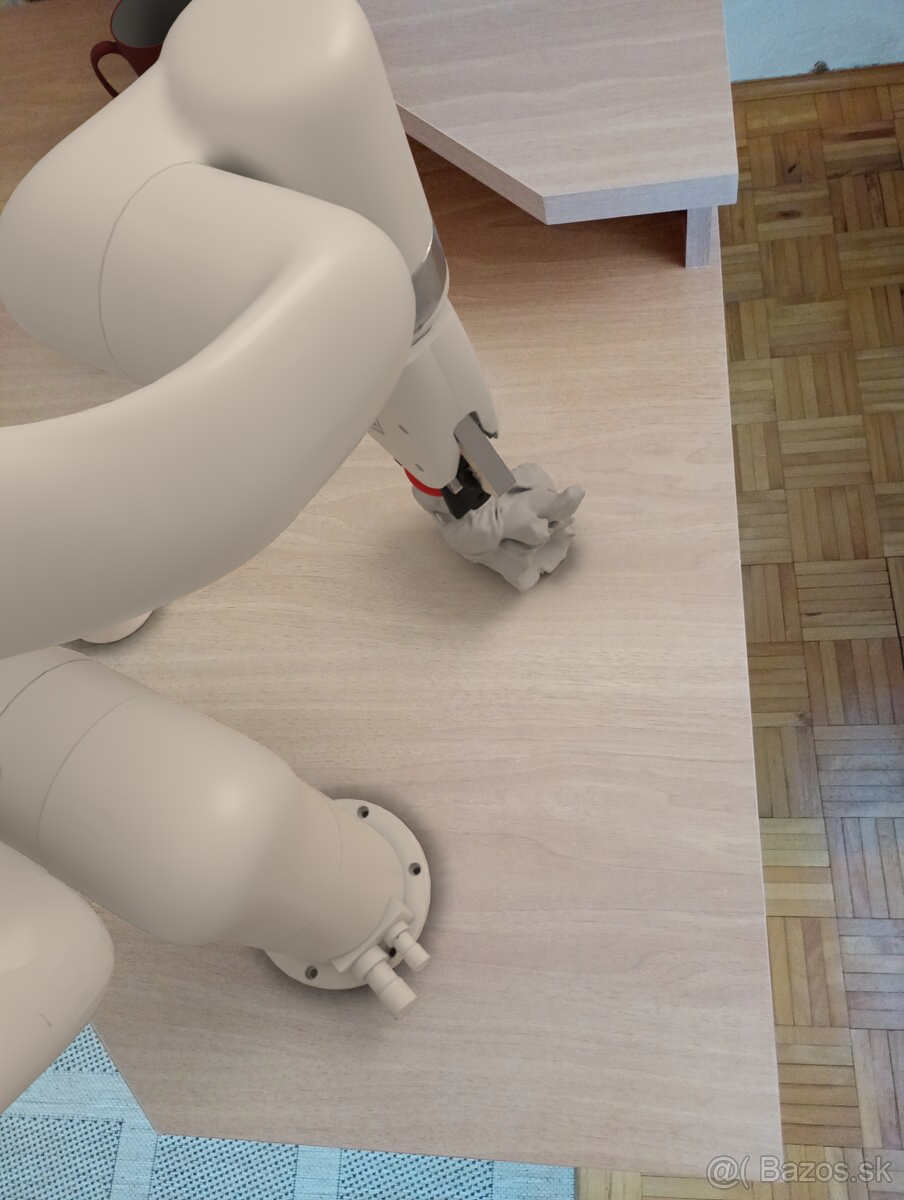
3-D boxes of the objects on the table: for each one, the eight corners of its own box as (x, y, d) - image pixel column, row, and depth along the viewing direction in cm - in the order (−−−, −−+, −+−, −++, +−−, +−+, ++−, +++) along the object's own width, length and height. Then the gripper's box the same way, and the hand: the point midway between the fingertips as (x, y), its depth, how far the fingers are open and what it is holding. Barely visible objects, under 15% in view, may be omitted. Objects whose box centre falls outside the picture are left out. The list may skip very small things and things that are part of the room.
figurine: (560, 530, 70) (436, 410, 73) (492, 624, 77) (381, 510, 79) (623, 494, 76) (506, 384, 79) (556, 583, 83) (450, 479, 85)
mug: (148, 170, 105) (91, 78, 95) (126, 113, 108) (69, 19, 98) (259, 117, 104) (213, 19, 94) (232, 61, 108) (186, -39, 98)
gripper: (183, 227, 49) (313, 431, 65) (416, 443, 42) (495, 610, 58) (306, 124, 50) (404, 352, 66) (555, 320, 43) (594, 520, 59)
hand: (446, 472), depth 62 cm, fingers closed on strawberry, 4 cm apart
